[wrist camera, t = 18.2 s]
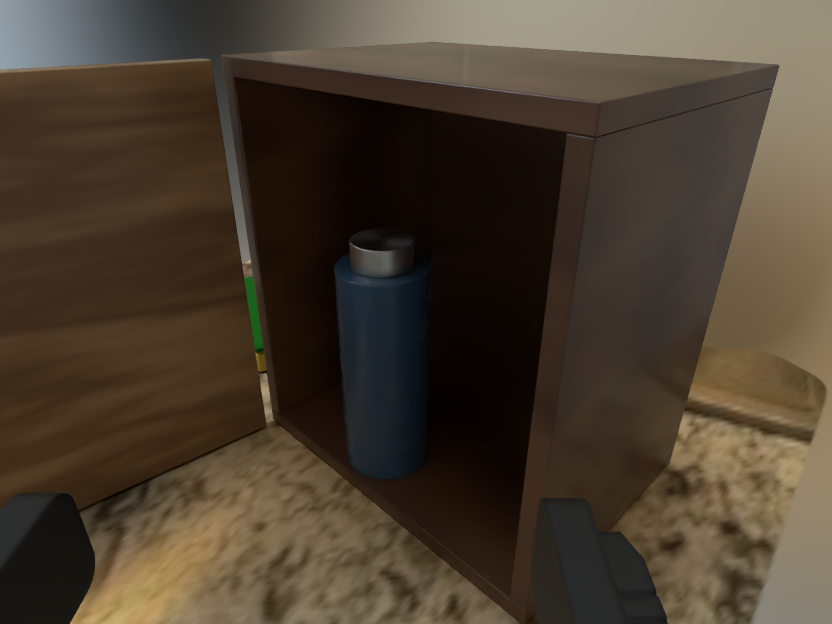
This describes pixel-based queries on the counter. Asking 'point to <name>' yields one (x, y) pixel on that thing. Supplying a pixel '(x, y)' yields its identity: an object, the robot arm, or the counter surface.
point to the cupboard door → (117, 279)
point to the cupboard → (500, 263)
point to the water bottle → (384, 352)
